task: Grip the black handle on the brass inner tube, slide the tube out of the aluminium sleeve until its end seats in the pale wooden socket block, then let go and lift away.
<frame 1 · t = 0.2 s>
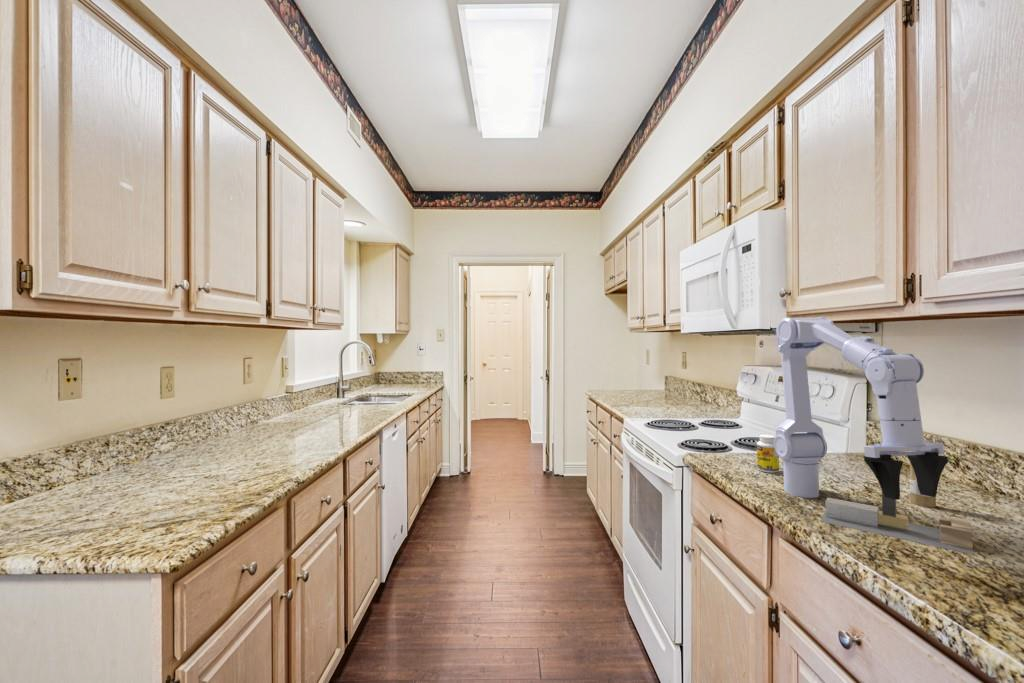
hand: (910, 496, 78), 10 cm above the table, tool pointing down, fingers open, 7 cm apart
sprinkles bottle: (923, 509, 98), on the table
outer sleeve: (851, 519, 91), resting on base board
socket block: (955, 540, 81), resting on base board
base board: (891, 532, 87), on the table
inner tube: (866, 502, 89), point 5 cm above the table, slide at 0.0 cm
supplement bottle: (768, 471, 128), on the table
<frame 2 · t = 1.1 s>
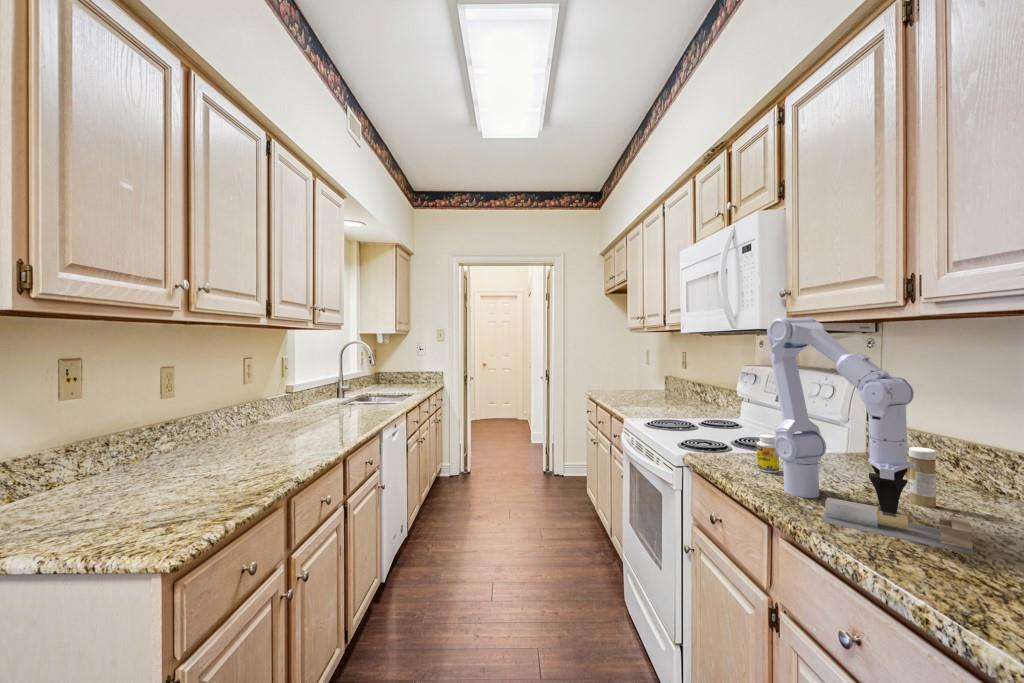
hand: (889, 506, 87), 5 cm above the table, tool pointing down, fingers open, 7 cm apart
nothing on the table moved.
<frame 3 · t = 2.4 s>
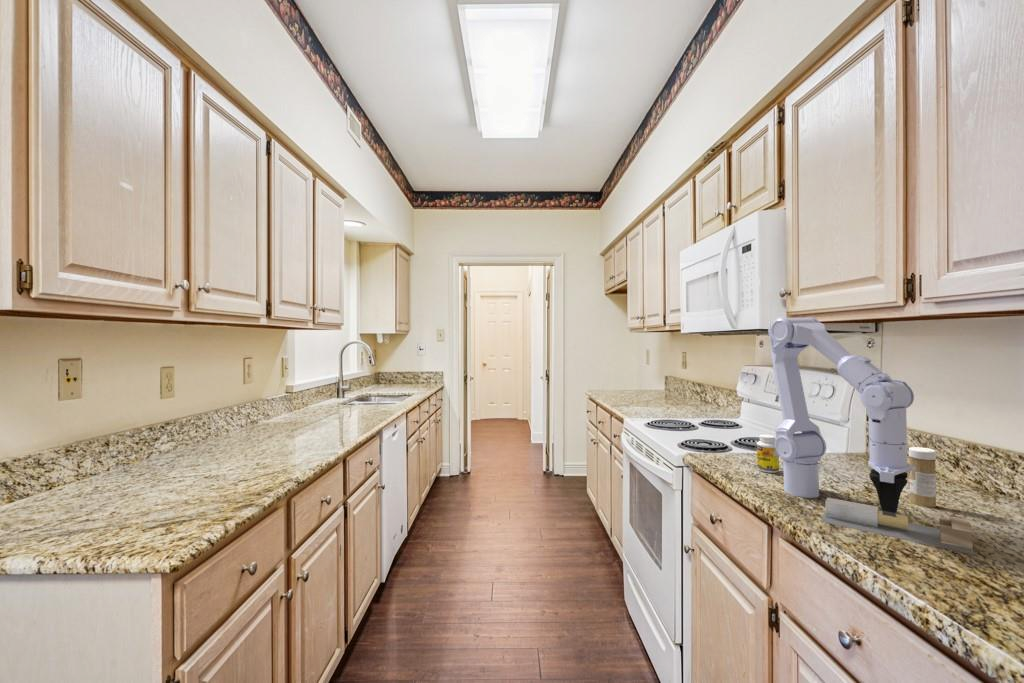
hand: (889, 509, 87), 5 cm above the table, tool pointing down, fingers closed on inner tube, 2 cm apart
inner tube: (866, 502, 89), point 5 cm above the table, slide at 0.0 cm, touching gripper
everything else where it was.
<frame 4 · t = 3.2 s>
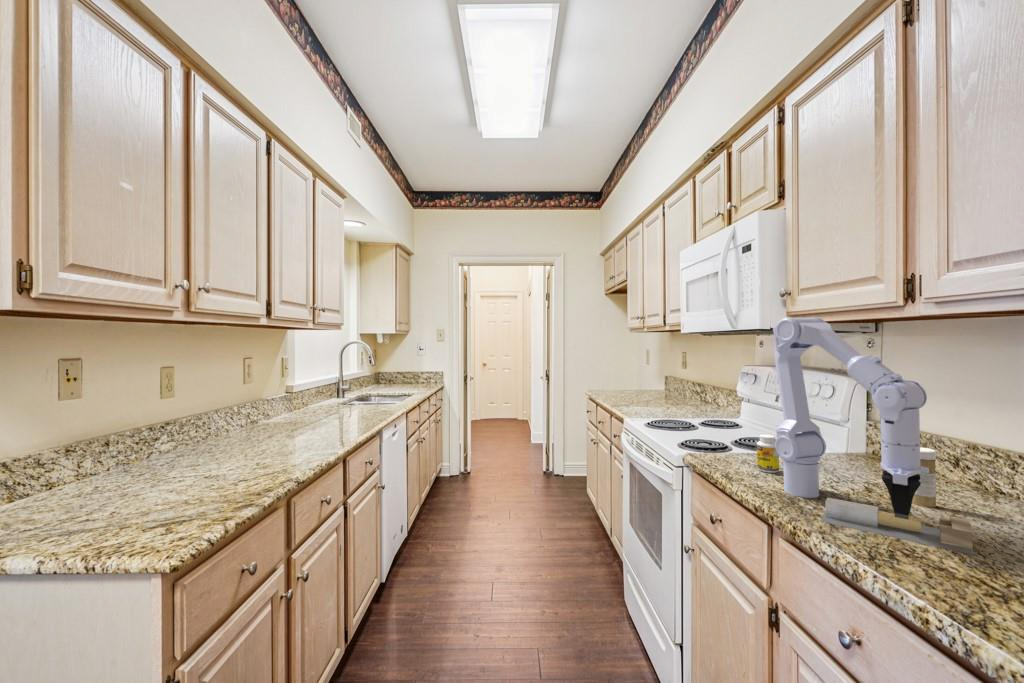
hand: (901, 511, 86), 5 cm above the table, tool pointing down, fingers closed on inner tube, 2 cm apart
inner tube: (878, 505, 88), point 5 cm above the table, slide at 1.9 cm, touching gripper
everything else where it was.
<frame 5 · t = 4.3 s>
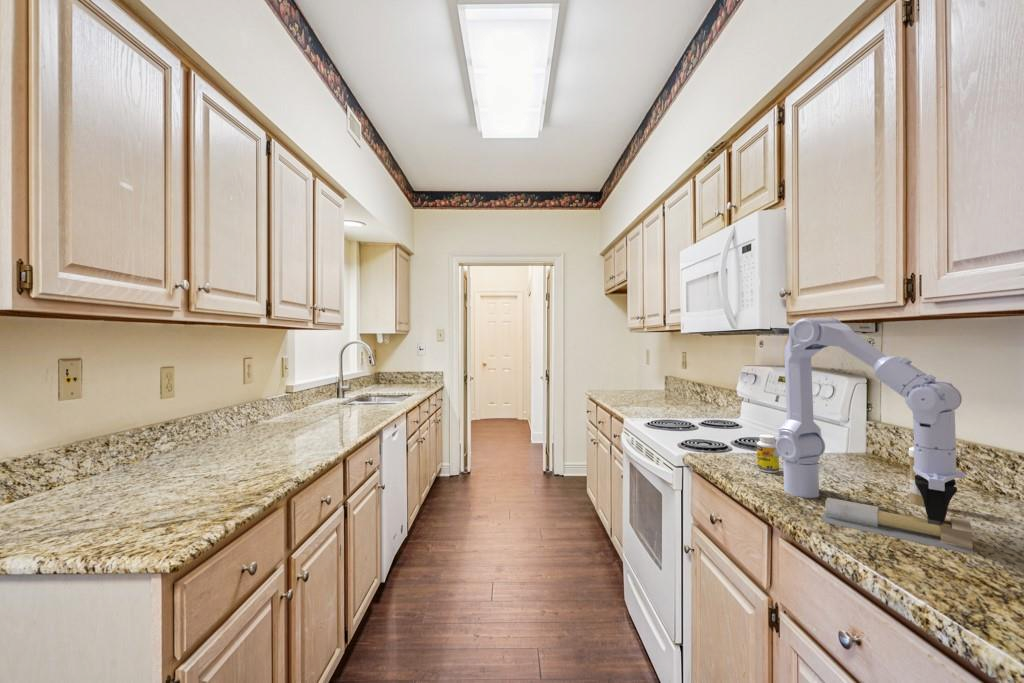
hand: (935, 518, 82), 5 cm above the table, tool pointing down, fingers closed on inner tube, 2 cm apart
inner tube: (909, 510, 85), point 5 cm above the table, slide at 6.5 cm, touching gripper
everything else where it was.
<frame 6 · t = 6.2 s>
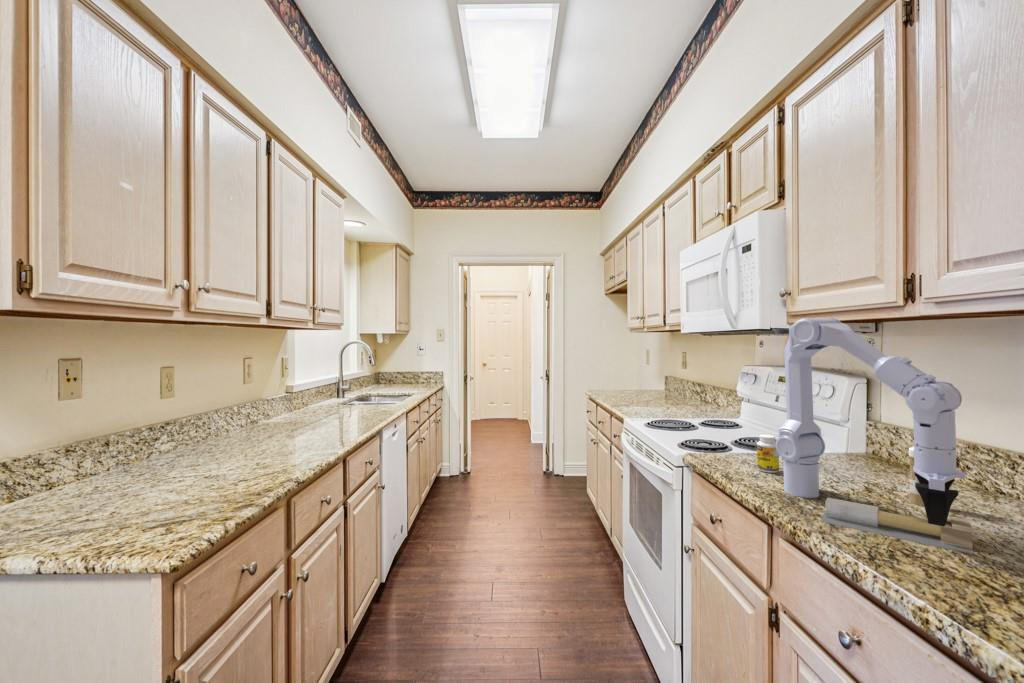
hand: (935, 517, 82), 5 cm above the table, tool pointing down, fingers open, 7 cm apart
inner tube: (909, 510, 85), point 5 cm above the table, slide at 6.5 cm
everything else where it was.
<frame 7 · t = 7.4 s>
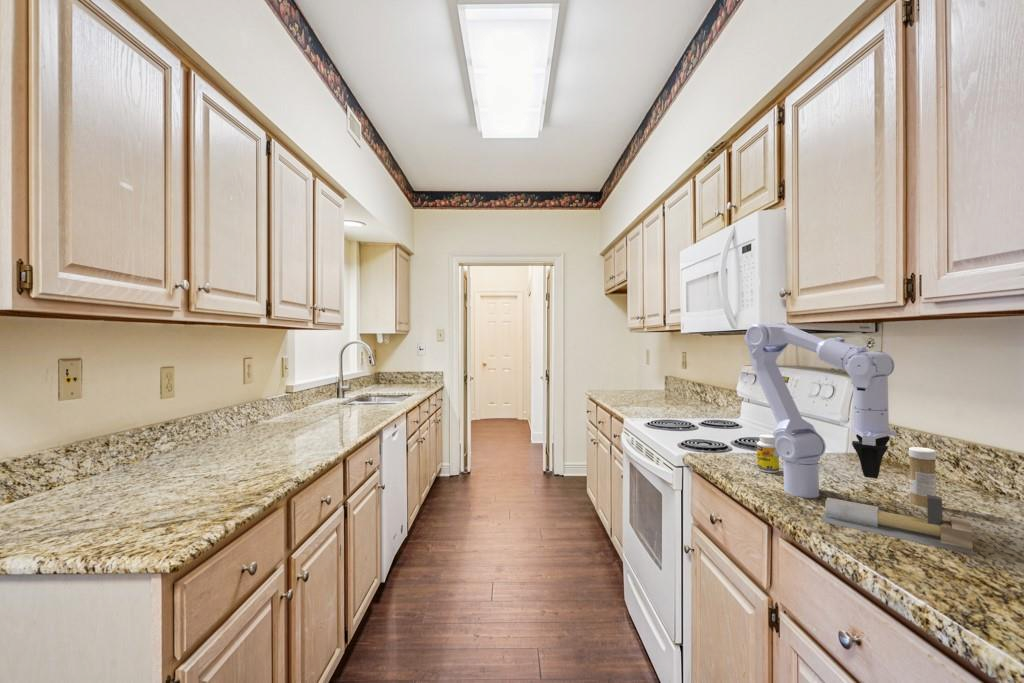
hand: (871, 472, 92), 10 cm above the table, tool pointing down, fingers open, 7 cm apart
nothing on the table moved.
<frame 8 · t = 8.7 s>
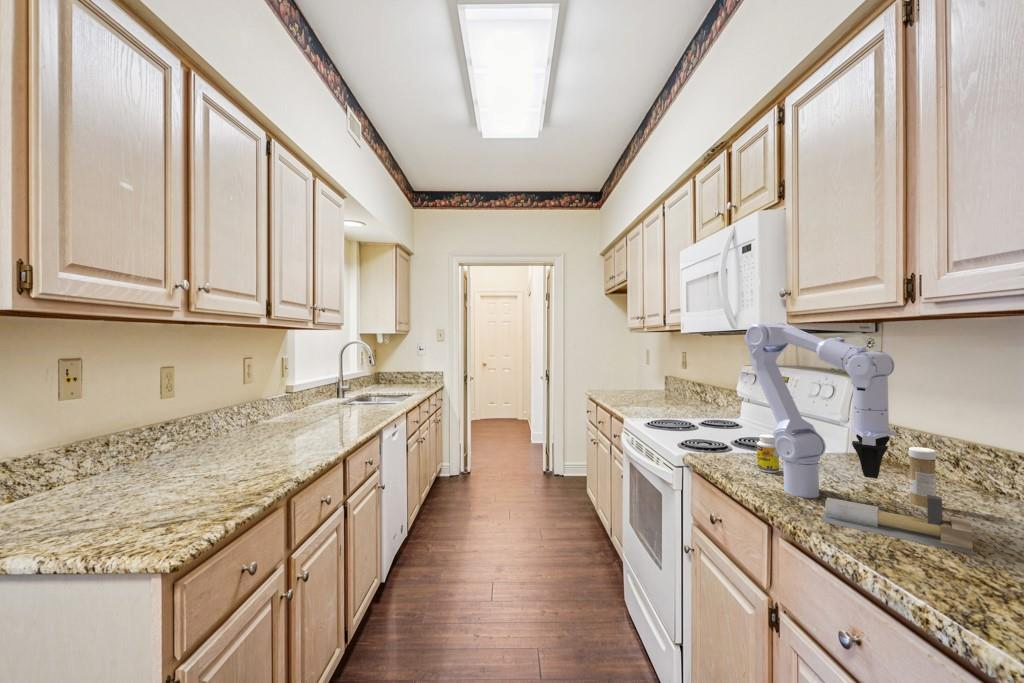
hand: (871, 472, 92), 10 cm above the table, tool pointing down, fingers open, 7 cm apart
nothing on the table moved.
at the end: inner tube slide at 6.5 cm; the gripper is holding nothing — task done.
